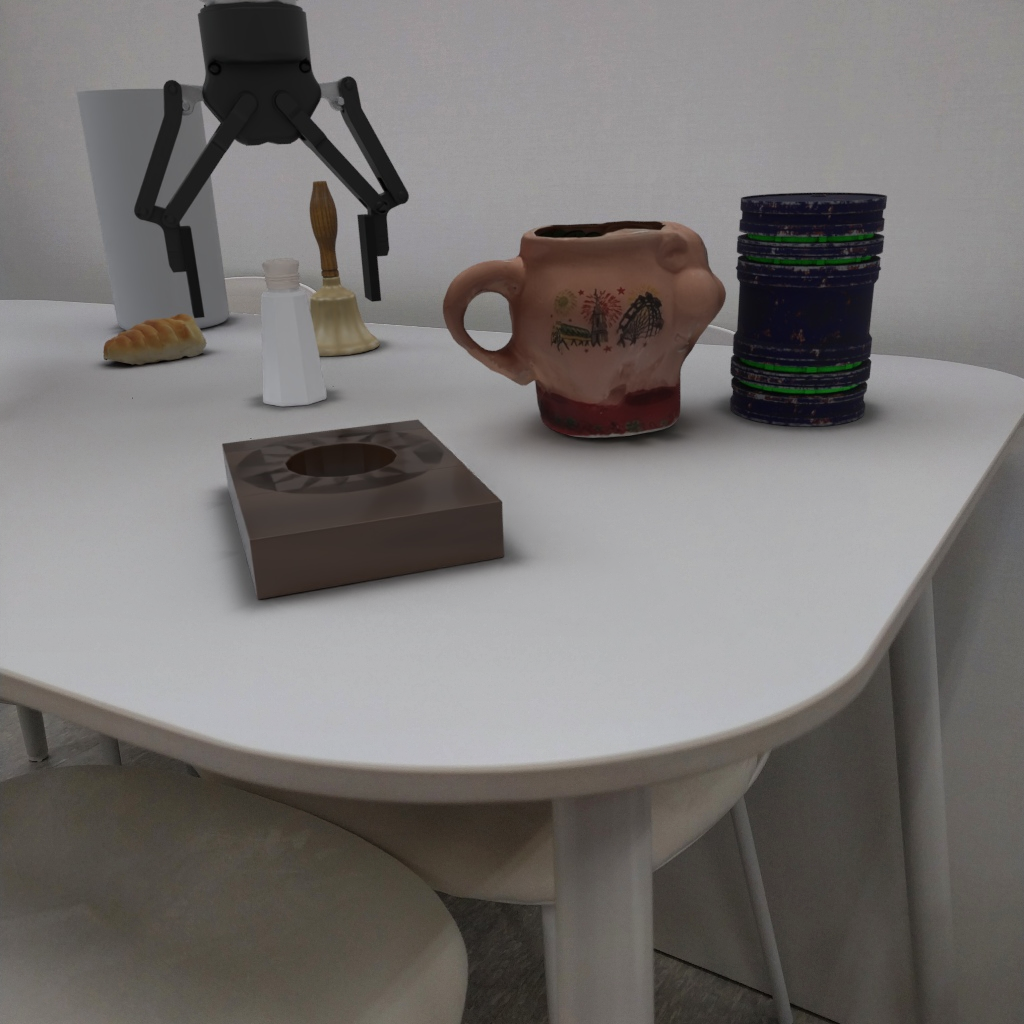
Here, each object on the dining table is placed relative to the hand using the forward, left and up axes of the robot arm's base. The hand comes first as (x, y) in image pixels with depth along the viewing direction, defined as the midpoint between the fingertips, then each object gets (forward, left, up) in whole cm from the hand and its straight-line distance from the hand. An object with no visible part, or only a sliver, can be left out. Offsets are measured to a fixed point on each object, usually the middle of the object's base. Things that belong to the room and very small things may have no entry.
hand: (288, 307), depth 76 cm
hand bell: (-19, +7, -8) cm, 22 cm away
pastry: (-23, -10, -8) cm, 26 cm away
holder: (+29, -1, -7) cm, 30 cm away
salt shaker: (0, 0, -8) cm, 8 cm away
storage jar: (+20, +34, -8) cm, 40 cm away
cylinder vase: (-42, -8, -8) cm, 44 cm away
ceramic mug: (+18, +18, -8) cm, 26 cm away
